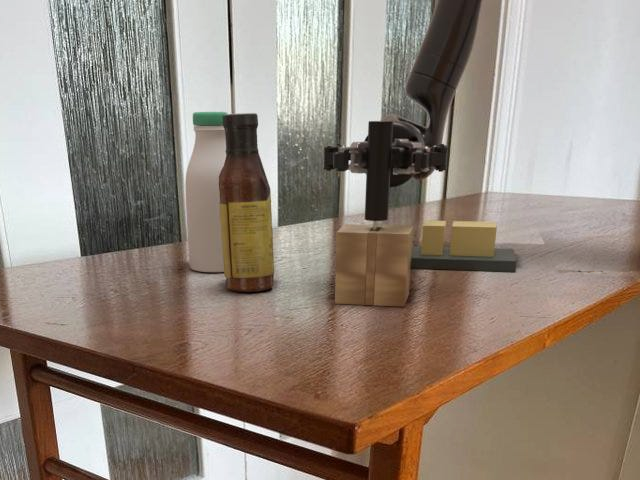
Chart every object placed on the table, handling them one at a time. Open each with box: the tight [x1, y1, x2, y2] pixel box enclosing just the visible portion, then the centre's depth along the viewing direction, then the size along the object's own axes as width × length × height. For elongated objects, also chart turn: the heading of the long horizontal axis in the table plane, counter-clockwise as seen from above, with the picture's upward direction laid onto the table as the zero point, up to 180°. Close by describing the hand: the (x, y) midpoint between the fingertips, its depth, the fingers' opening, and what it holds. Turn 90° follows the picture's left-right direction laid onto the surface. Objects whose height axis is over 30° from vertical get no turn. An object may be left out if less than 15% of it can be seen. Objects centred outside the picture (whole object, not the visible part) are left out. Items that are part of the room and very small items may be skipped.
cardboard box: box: [334, 224, 414, 308], centre depth 87 cm, size 8×6×8 cm
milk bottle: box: [184, 111, 228, 273], centre depth 102 cm, size 8×8×20 cm
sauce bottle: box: [219, 112, 275, 293], centre depth 90 cm, size 7×6×20 cm
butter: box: [411, 220, 517, 273], centre depth 107 cm, size 16×10×6 cm, turn 77°
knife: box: [364, 120, 393, 231], centre depth 85 cm, size 3×3×19 cm
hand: (379, 161), depth 83 cm, fingers open, 8 cm apart
